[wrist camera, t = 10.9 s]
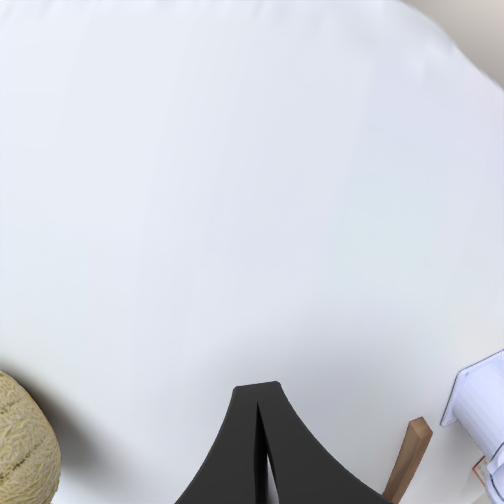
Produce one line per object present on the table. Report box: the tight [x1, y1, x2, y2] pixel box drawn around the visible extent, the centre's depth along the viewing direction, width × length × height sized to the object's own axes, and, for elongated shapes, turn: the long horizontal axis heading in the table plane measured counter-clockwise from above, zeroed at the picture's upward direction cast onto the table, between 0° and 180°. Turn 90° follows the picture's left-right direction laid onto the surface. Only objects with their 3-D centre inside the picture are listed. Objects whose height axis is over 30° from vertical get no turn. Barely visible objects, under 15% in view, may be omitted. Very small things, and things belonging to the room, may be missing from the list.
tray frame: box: [268, 417, 433, 504], centre depth 24 cm, size 18×18×2 cm
